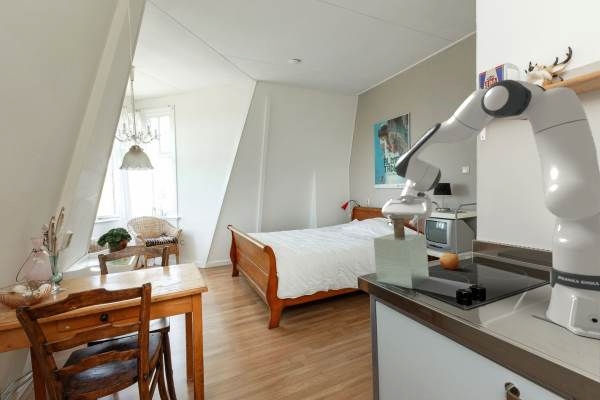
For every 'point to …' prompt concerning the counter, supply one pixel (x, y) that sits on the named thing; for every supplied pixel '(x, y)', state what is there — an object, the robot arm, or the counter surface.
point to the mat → (442, 286)
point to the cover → (401, 257)
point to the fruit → (449, 261)
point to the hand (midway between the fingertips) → (400, 224)
